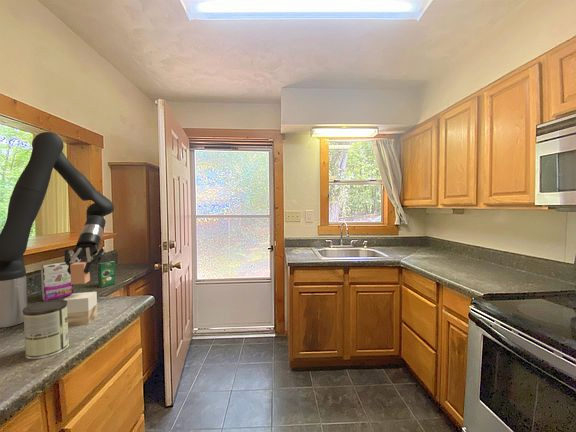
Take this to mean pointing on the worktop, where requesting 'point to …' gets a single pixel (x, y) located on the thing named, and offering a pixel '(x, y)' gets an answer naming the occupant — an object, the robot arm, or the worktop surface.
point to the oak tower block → (82, 317)
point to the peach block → (79, 273)
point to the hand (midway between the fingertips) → (78, 272)
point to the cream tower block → (81, 302)
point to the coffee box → (106, 274)
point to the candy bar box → (55, 281)
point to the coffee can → (45, 329)
